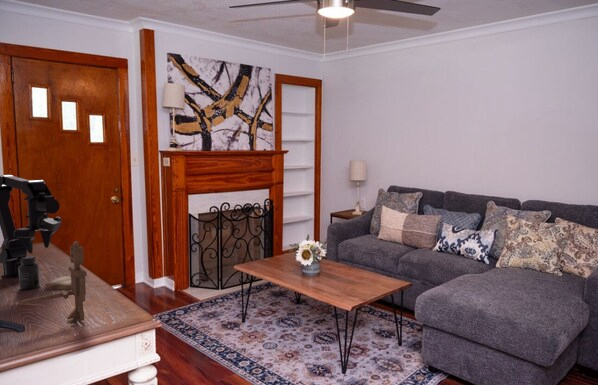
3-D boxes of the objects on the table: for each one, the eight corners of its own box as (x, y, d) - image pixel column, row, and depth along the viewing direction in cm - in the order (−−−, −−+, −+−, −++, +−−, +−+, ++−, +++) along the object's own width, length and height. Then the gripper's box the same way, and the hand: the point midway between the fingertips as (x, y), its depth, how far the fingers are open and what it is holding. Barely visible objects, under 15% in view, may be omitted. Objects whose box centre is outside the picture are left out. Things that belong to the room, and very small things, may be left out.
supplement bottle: (44, 286, 171) (42, 256, 169) (27, 291, 165) (25, 260, 163) (32, 283, 174) (30, 254, 172) (15, 288, 167) (13, 258, 166)
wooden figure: (22, 324, 134) (16, 245, 131) (84, 310, 146) (80, 237, 143) (30, 340, 123) (25, 253, 121) (97, 323, 135) (93, 244, 132)
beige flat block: (45, 290, 168) (45, 283, 167) (62, 282, 177) (62, 275, 177) (69, 291, 166) (69, 284, 166) (85, 283, 176) (85, 276, 176)
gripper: (38, 216, 163) (41, 256, 165) (70, 208, 181) (72, 245, 183) (11, 215, 164) (14, 255, 166) (45, 208, 183) (47, 244, 184)
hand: (38, 250), depth 175 cm, fingers open, 9 cm apart
